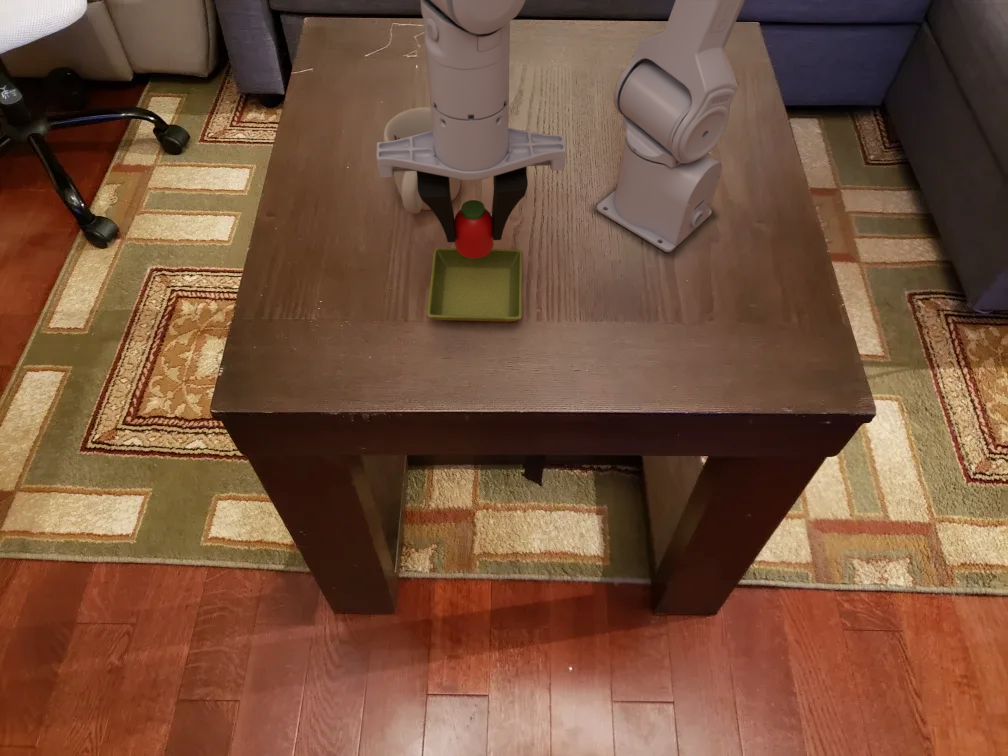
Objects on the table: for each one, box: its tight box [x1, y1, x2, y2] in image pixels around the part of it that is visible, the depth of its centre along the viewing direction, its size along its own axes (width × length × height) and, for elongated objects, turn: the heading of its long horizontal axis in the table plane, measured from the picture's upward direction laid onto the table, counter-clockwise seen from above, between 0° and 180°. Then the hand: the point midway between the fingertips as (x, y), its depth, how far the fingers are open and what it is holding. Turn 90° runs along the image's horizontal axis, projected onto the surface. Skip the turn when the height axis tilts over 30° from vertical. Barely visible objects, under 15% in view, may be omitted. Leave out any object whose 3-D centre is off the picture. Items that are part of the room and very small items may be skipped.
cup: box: [383, 106, 462, 215], centre depth 75 cm, size 11×8×8 cm
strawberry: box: [454, 199, 494, 258], centre depth 64 cm, size 3×3×4 cm
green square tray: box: [426, 247, 524, 322], centre depth 70 cm, size 9×9×2 cm
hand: (474, 233), depth 64 cm, fingers closed on strawberry, 3 cm apart
